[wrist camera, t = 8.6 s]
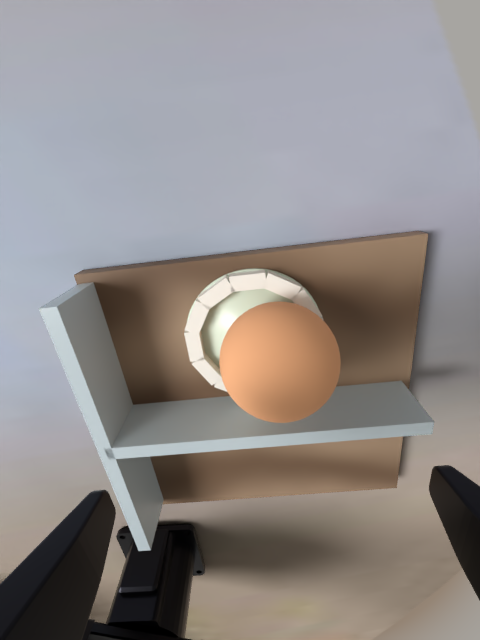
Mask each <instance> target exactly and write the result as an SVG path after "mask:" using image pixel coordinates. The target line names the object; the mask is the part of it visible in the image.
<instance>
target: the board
mask: <svg viewBox="0 0 480 640" xmlns="http://www.w3.org/2000/svg"><path fill="white" fill-rule="evenodd" d="M427 240H428V234H427V233H423V232H420V231H413V232H404V233H396V234H387V235H379V236H370V237H361V238H353V239H344V240H336V241H327V242H319V243H310V244H302V245H293V246H284V247H276V248H267V249H259V250H250V251H242V252H233V253H225V254H216V255H208V256H199V257H190V258H182V259H173V260H165V261H156V262H148V263H139V264H131V265H122V266H113V267H105V268H96V269H88V270H82V271H80V272H79V273H77V274H75V275H74V277H75V280H76V283H77V285H76V286H75V287H73V288H72V289H70V290H68V291H67V292H65V293H63V294H62V295H60V296H59V297H57V298H55V299H54V300H52V301H50V302H49V303H47V304H46V305H44V306H42V307H41V308H39V310H40V313H41V315H42V318H43V320H44V323H45V325H46V327H47V330H48V332H49V335H50V337H51V340H52V342H53V344H54V347H55V349H56V352H57V354H58V356H59V359H60V361H61V364H62V366H63V369H64V371H65V373H66V376H67V378H68V381H69V383H70V386H71V388H72V390H73V393H74V395H75V398H76V400H77V403H78V405H79V407H80V410H81V412H82V415H83V417H84V420H85V422H86V424H87V427H88V429H89V432H90V434H91V437H92V439H93V441H94V444H95V446H96V449H97V451H98V454H99V456H100V458H101V461H102V463H103V466H104V468H105V470H106V473H107V475H108V478H109V480H110V483H111V485H112V487H113V490H114V492H115V495H116V497H117V500H118V502H119V504H120V507H121V509H122V512H123V514H124V517H125V519H126V521H127V524H128V526H129V529H130V531H131V534H132V536H133V538H134V541H135V543H136V546H137V548H138V551H148V550H151V548H152V544H153V540H154V536H155V532H156V528H157V524H158V520H159V516H160V512H161V508H162V504H172V503H186V502H200V501H215V500H229V499H243V498H258V497H272V496H286V495H301V494H315V493H329V492H343V491H358V490H372V489H386V488H397V481H398V473H399V465H400V457H401V449H402V441H403V436H414V435H427V434H432V432H433V426H434V421H433V420H432V418H431V417H430V416H429V415H428V413H427V412H426V411H425V410H424V408H423V407H422V406H421V405H420V403H419V402H418V401H417V400H416V398H415V397H414V396H413V394H412V393H411V392H410V391H409V384H410V376H411V368H412V360H413V352H414V344H415V336H416V328H417V320H418V312H419V304H420V296H421V288H422V280H423V272H424V264H425V256H426V248H427ZM280 301H281V302H290V303H294V304H298V305H300V306H303V307H305V308H307V309H309V310H311V311H312V312H314V313H315V314H317V315H318V316H319V317H320V318H321V319H322V320H323V321H324V322H325V323H326V324H327V325H328V327H329V328H330V330H331V331H332V333H333V335H334V336H335V339H336V341H337V344H338V347H339V352H340V359H341V366H340V375H339V379H338V383H337V385H336V387H335V390H334V392H333V393H332V395H331V397H330V398H329V400H328V401H327V402H326V403H325V404H324V405H323V406H322V407H321V408H320V409H319V410H318V411H316V412H315V413H313V414H311V415H310V416H308V417H306V418H304V419H301V420H298V421H294V422H288V423H274V422H268V421H264V420H261V419H258V418H256V417H254V416H252V415H250V414H249V413H247V412H246V411H244V410H243V409H242V408H241V407H239V406H238V405H237V404H236V403H235V402H234V400H233V399H232V398H231V396H230V395H229V393H228V392H227V390H226V388H225V386H224V383H223V381H222V377H221V373H220V365H219V359H220V350H221V345H222V342H223V339H224V337H225V335H226V333H227V331H228V329H229V328H230V326H231V325H232V324H233V322H234V321H235V320H236V319H237V318H238V317H239V316H241V315H242V314H243V313H244V312H246V311H248V310H249V309H251V308H253V307H255V306H258V305H260V304H263V303H268V302H280Z"/></svg>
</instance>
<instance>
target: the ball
mask: <svg viewBox="0 0 480 640" xmlns="http://www.w3.org/2000/svg"><path fill="white" fill-rule="evenodd" d="M219 365H220V373H221V377H222V381H223V383H224V386H225V388H226V390H227V392H228V393H229V395H230V396H231V398H232V399H233V400H234V402H235V403H236V404H237V405H238V406H239V407H241V408H242V409H243V410H244V411H246V412H247V413H249V414H250V415H252V416H254V417H256V418H258V419H261V420H264V421H268V422H274V423H288V422H294V421H298V420H301V419H304V418H306V417H308V416H310V415H311V414H313V413H315V412H316V411H318V410H319V409H320V408H321V407H322V406H323V405H324V404H325V403H326V402H327V401H328V400H329V398H330V397H331V395H332V393H333V392H334V390H335V387H336V385H337V383H338V379H339V375H340V366H341V359H340V352H339V347H338V344H337V341H336V339H335V336H334V335H333V333H332V331H331V330H330V328H329V327H328V325H327V324H326V323H325V322H324V321H323V320H322V319H321V318H320V317H319V316H318V315H317V314H315V313H314V312H312V311H311V310H309V309H307V308H305V307H303V306H300V305H298V304H294V303H290V302H281V301H280V302H268V303H263V304H260V305H258V306H255V307H253V308H251V309H249V310H248V311H246V312H244V313H243V314H242V315H241V316H239V317H238V318H237V319H236V320H235V321H234V322H233V324H232V325H231V326H230V328H229V329H228V331H227V333H226V335H225V337H224V339H223V342H222V345H221V350H220V359H219Z"/></svg>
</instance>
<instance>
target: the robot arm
mask: <svg viewBox="0 0 480 640" xmlns="http://www.w3.org/2000/svg"><path fill="white" fill-rule="evenodd" d="M429 491H430V495H431V498H432V500H433V503H434V505H435V507H436V510H437V512H438V514H439V517H440V519H441V521H442V524H443V526H444V528H445V531H446V533H447V535H448V538H449V540H450V542H451V545H452V547H453V549H454V551H455V554H456V556H457V558H458V560H459V562H460V564H461V566H462V568H463V570H464V572H465V574H466V576H467V578H468V580H469V581H470V583H471V585H472V587H473V589H474V591H475V593H476V594H477V596H478V598H479V600H480V486H478V485H477V484H476V483H474V482H473V481H472V480H470V479H469V478H467V477H466V476H465V475H463V474H462V473H460V472H459V471H458V470H456V469H455V468H453V467H452V466H449V465H444V466H435V467H434V468H433V469H432V474H431V479H430V484H429ZM115 514H116V512H115V507H114V505H113V502H112V500H111V498H110V495H109V493H108V492H107V491H106V490H99V491H93V492H91V493H89V494H88V495H87V496H86V497H85V498H84V499H83V500H82V501H81V503H80V504H79V505H78V506H77V507H76V508H75V509H74V510H73V511H72V512H71V513H70V514H69V515H68V516H67V517H66V518H65V519H64V520H63V521H62V522H61V523H60V524H59V525H58V526H57V527H56V528H55V529H54V530H53V531H52V532H51V533H50V534H49V535H48V536H47V537H46V538H45V539H44V540H43V541H42V542H41V543H40V544H39V545H38V546H37V547H36V548H35V549H34V550H33V551H32V552H31V553H30V554H29V555H28V556H27V557H26V559H25V560H24V561H23V562H22V563H21V564H20V565H19V566H18V567H17V568H16V569H15V570H14V571H13V572H12V573H11V574H10V575H9V576H8V577H7V578H6V579H5V580H4V581H3V582H2V583H1V584H0V640H191V639H185V631H186V624H187V616H188V608H189V601H190V593H191V585H192V577H193V576H195V575H203V574H204V573H205V565H204V561H203V557H202V554H201V550H200V547H199V543H198V540H197V536H196V532H195V529H194V527H193V526H192V525H189V524H185V525H170V526H157V528H156V532H155V536H154V540H153V544H152V548H151V550H148V551H138V548H137V546H136V543H135V541H134V538H133V536H132V534H131V531H130V529H129V528H125V529H120V530H119V531H118V533H117V536H116V537H117V540H118V542H119V544H120V546H121V549H122V551H123V553H124V555H125V558H126V561H125V564H124V568H123V571H122V574H121V577H120V580H119V584H118V587H117V590H116V593H115V596H114V600H113V603H112V606H111V609H110V612H109V616H108V619H107V622H106V624H104V623H98V622H94V621H95V620H92V619H89V616H90V613H91V610H92V606H93V603H94V600H95V597H96V594H97V591H98V587H99V584H100V581H101V577H102V573H103V569H104V564H105V560H106V556H107V551H108V547H109V542H110V538H111V534H112V529H113V525H114V520H115Z"/></svg>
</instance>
